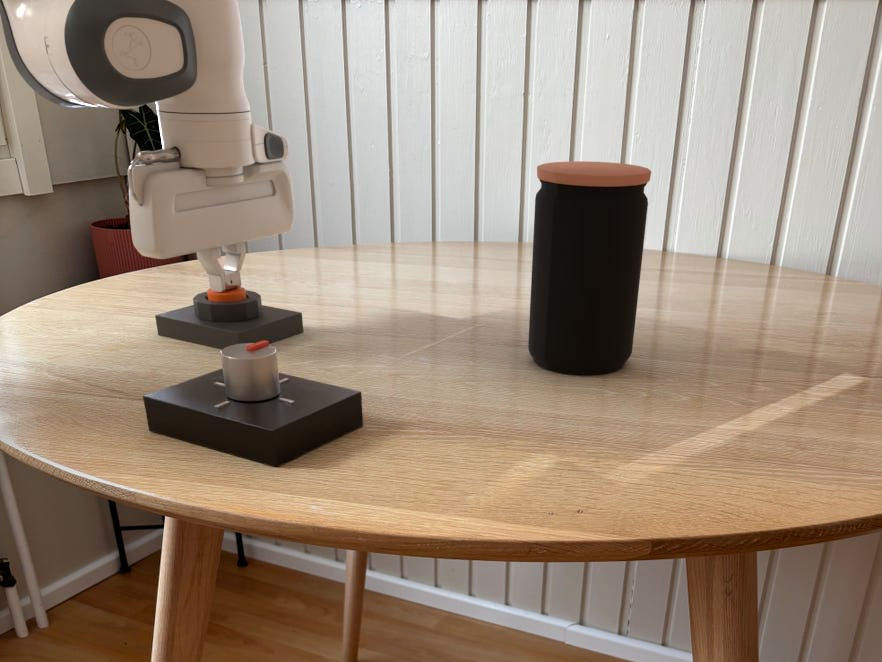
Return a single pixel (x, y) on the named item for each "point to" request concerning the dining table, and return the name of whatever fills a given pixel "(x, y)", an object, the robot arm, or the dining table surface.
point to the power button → (227, 295)
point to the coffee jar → (586, 265)
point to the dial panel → (255, 417)
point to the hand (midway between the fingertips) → (226, 289)
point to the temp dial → (250, 371)
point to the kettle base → (229, 322)
